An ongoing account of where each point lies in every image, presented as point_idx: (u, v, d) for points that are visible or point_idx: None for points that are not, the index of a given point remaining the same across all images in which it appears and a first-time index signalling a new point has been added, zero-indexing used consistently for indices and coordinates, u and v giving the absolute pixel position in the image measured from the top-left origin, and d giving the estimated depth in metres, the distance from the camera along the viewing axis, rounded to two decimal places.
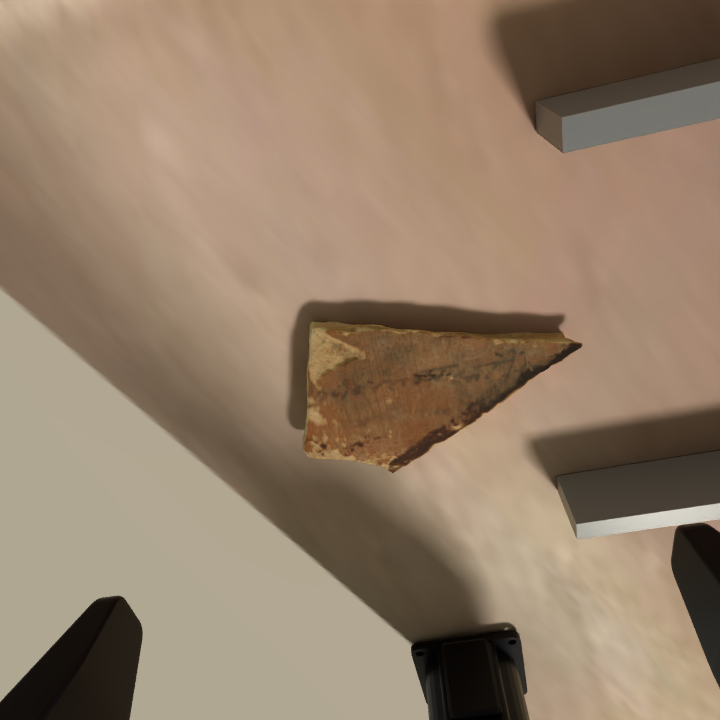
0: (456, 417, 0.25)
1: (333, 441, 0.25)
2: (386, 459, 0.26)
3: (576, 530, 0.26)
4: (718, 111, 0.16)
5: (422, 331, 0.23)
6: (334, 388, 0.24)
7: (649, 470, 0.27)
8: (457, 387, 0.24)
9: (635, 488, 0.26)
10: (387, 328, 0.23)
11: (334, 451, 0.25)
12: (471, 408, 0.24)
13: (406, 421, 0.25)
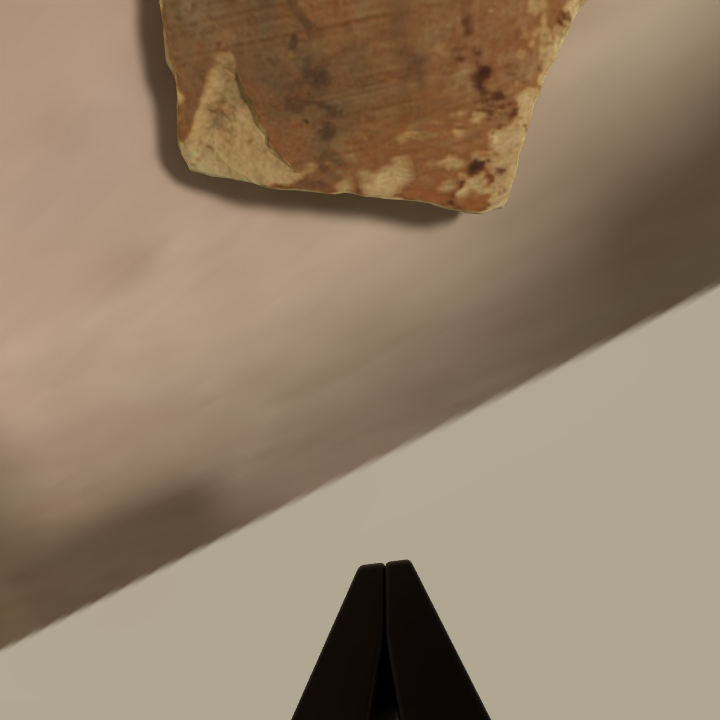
0: None
1: (464, 142, 0.11)
2: None
3: None
4: None
5: None
6: (312, 132, 0.11)
7: None
8: None
9: None
10: None
11: (496, 142, 0.11)
12: None
13: None
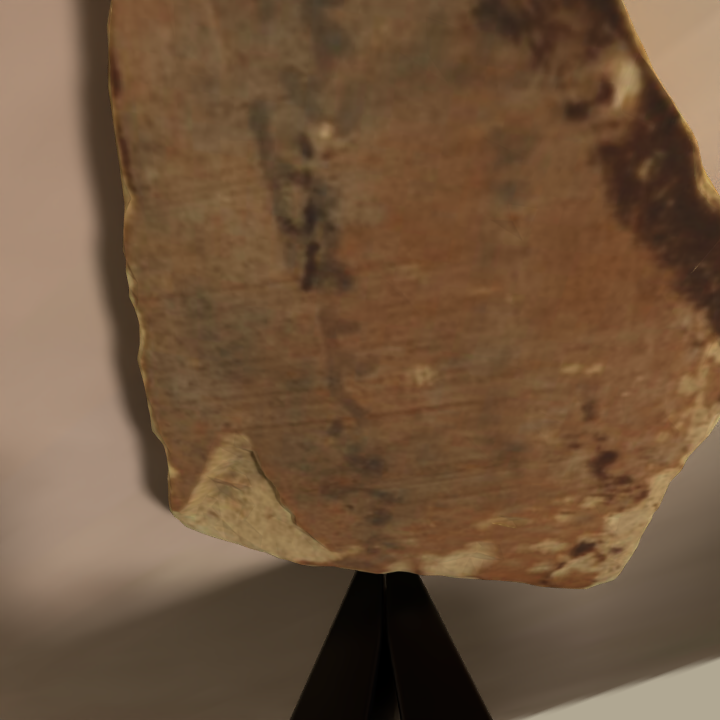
0: (559, 92, 0.05)
1: (569, 526, 0.08)
2: (714, 374, 0.07)
3: None
4: None
5: (128, 251, 0.06)
6: (358, 516, 0.08)
7: None
8: (376, 99, 0.05)
9: None
10: None
11: (613, 524, 0.08)
12: (518, 9, 0.05)
13: (532, 314, 0.06)
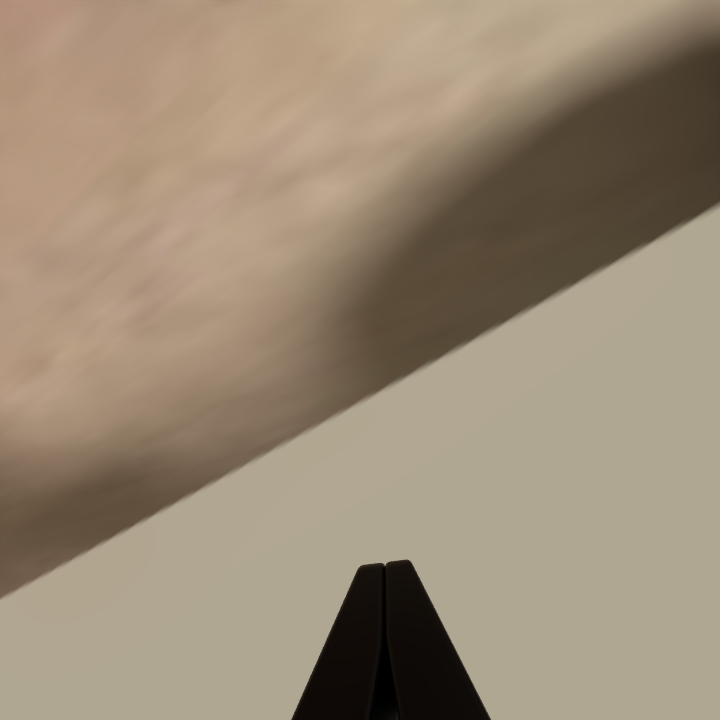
0: None
1: None
2: None
3: None
4: None
5: None
6: None
7: None
8: None
9: None
10: None
11: None
12: None
13: None
